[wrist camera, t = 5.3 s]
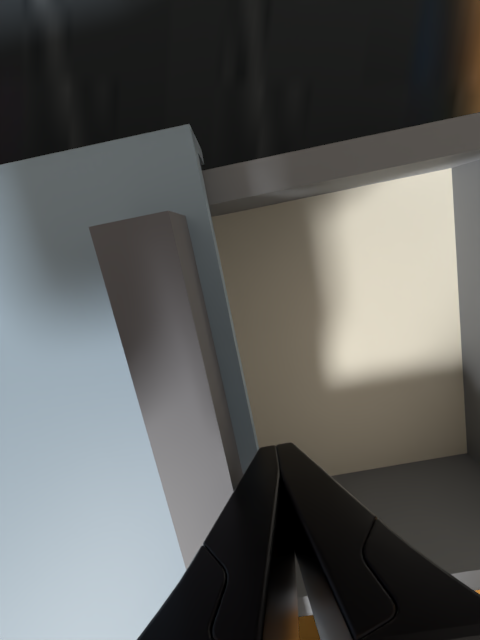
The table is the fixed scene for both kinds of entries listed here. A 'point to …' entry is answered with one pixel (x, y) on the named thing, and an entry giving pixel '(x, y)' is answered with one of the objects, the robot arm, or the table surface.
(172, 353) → the lid
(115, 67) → the table surface
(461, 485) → the open gray box
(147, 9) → the table surface
